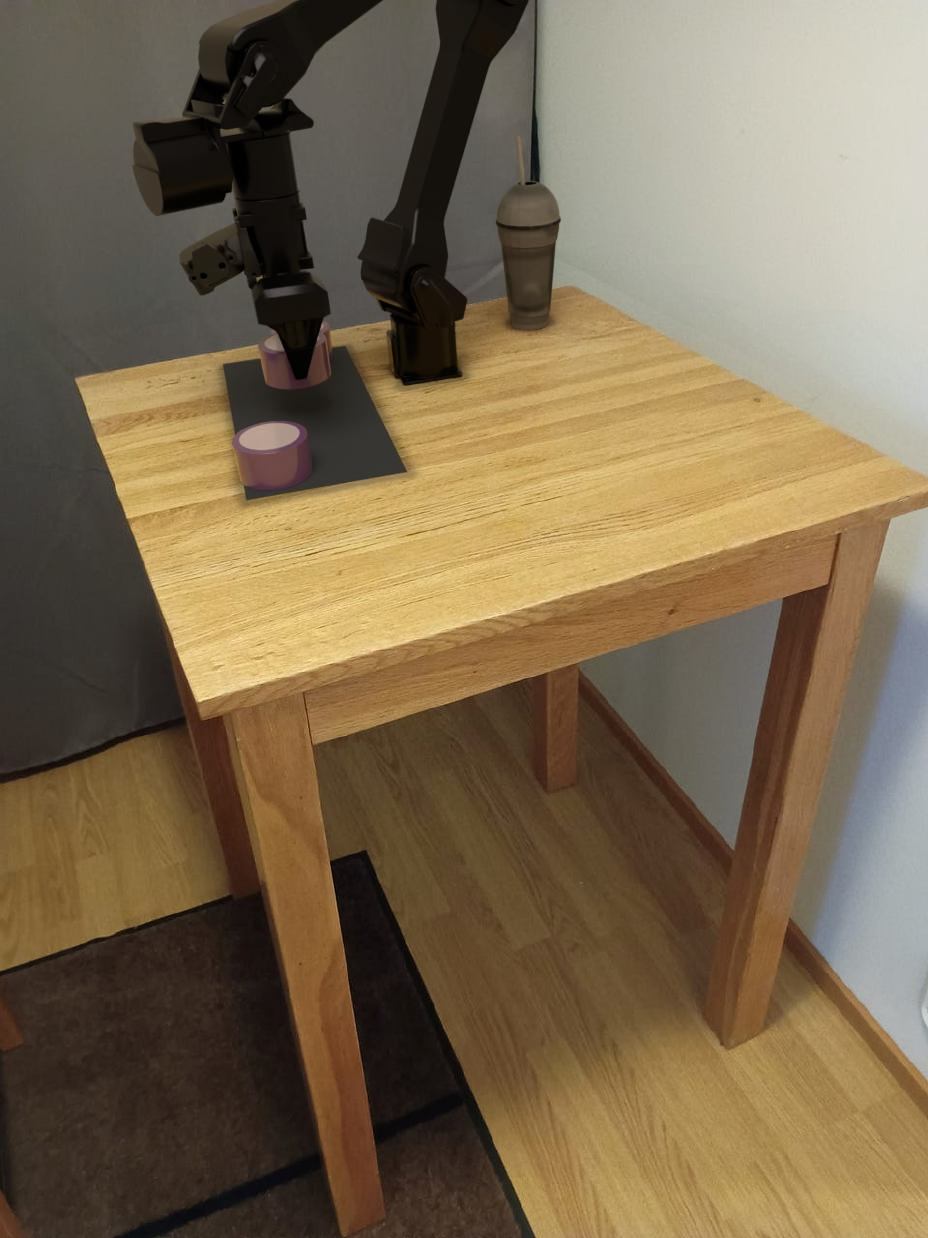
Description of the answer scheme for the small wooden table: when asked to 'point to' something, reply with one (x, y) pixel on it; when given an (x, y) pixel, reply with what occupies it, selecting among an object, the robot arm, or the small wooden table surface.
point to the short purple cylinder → (326, 331)
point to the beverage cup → (528, 249)
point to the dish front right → (272, 455)
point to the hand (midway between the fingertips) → (296, 365)
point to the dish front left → (279, 367)
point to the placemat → (318, 422)
